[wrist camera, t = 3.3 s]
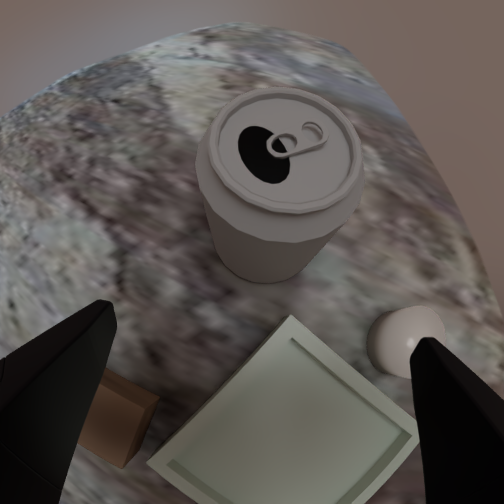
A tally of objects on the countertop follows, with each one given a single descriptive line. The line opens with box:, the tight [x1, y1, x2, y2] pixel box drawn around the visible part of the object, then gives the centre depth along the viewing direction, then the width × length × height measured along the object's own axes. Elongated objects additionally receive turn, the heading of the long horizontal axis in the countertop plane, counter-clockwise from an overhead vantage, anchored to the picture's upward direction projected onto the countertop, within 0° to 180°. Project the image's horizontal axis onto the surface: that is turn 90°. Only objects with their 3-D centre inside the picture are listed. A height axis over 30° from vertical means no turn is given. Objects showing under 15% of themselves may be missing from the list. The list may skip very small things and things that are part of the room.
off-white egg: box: [367, 305, 446, 379], centre depth 19 cm, size 5×5×4 cm
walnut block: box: [77, 368, 160, 469], centre depth 17 cm, size 5×5×4 cm
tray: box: [146, 315, 419, 504], centre depth 17 cm, size 14×14×2 cm
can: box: [195, 87, 365, 284], centre depth 17 cm, size 8×8×12 cm
